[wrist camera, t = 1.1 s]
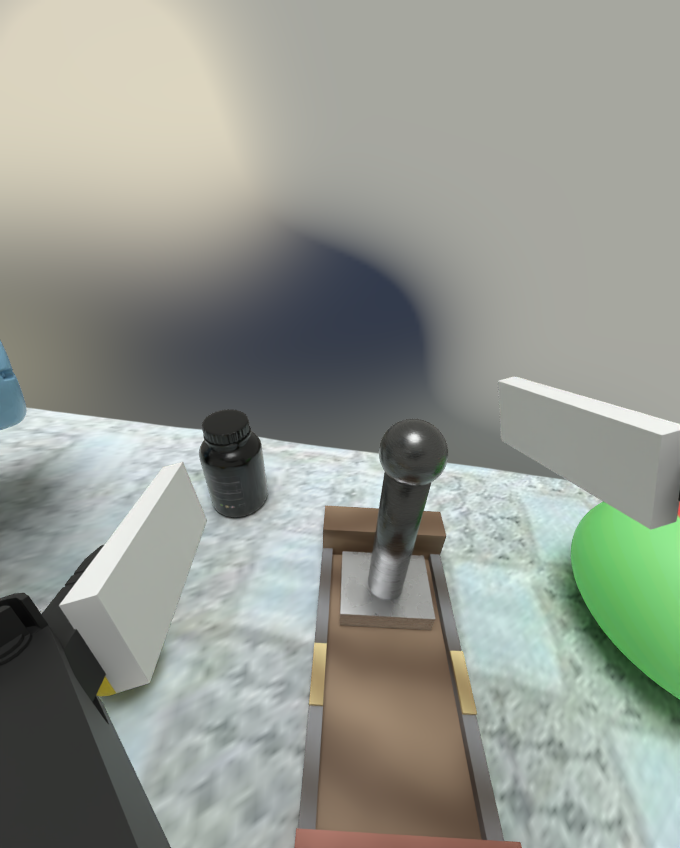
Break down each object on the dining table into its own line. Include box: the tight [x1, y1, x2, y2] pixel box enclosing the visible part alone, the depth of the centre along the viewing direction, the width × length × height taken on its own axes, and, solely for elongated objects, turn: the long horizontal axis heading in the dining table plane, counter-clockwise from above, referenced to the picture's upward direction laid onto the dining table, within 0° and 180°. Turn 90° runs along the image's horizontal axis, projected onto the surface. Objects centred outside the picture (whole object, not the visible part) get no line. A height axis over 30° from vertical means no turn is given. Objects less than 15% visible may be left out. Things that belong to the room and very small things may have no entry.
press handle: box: [340, 419, 448, 630], centre depth 27 cm, size 6×8×20 cm
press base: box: [295, 506, 522, 848], centre depth 28 cm, size 24×12×6 cm, turn 178°
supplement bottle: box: [199, 409, 267, 517], centre depth 40 cm, size 7×7×12 cm
